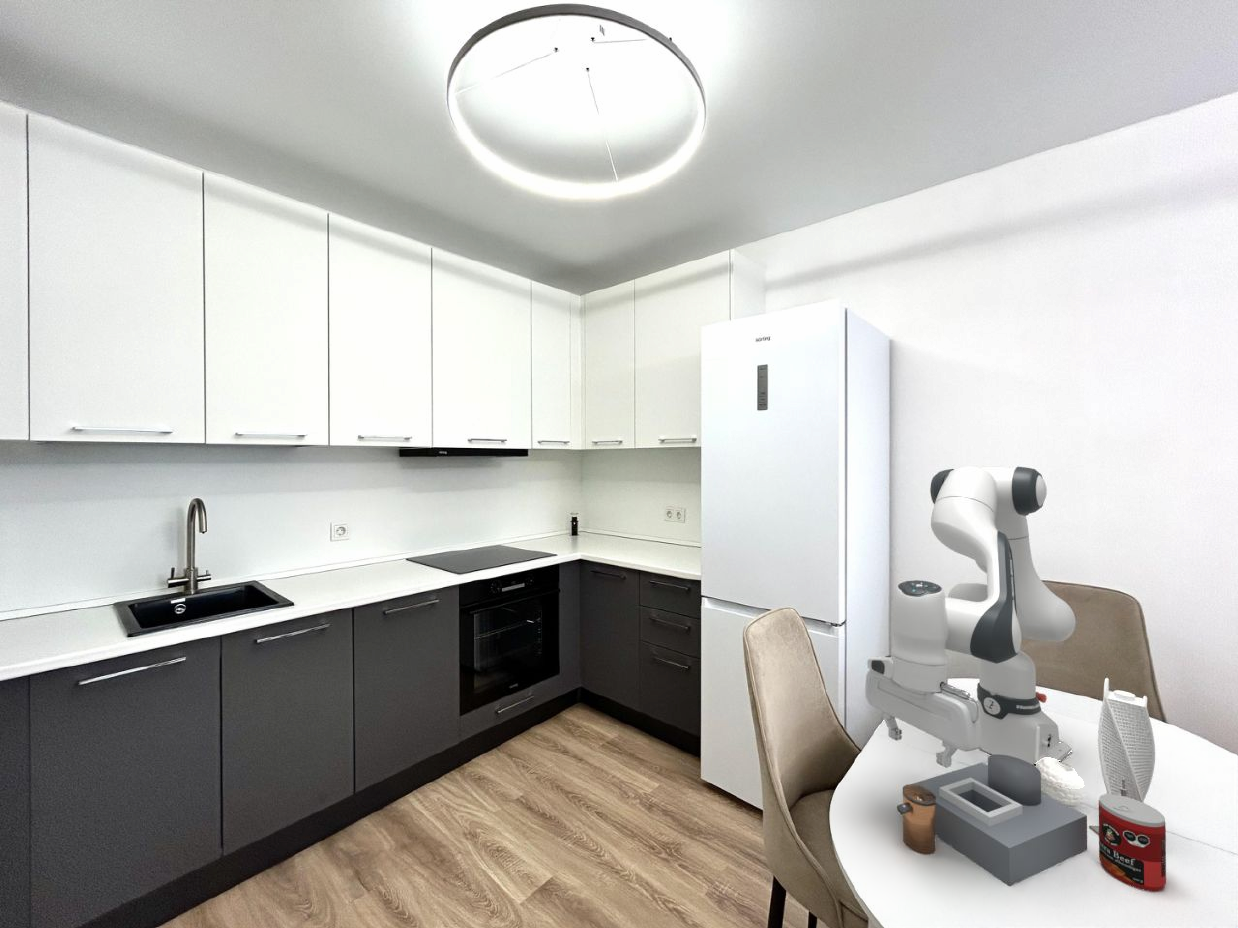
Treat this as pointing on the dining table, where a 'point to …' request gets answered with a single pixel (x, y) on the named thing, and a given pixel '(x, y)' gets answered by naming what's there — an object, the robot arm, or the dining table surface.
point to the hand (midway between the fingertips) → (918, 750)
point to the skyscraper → (1125, 745)
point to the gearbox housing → (1005, 818)
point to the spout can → (918, 819)
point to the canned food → (1132, 842)
